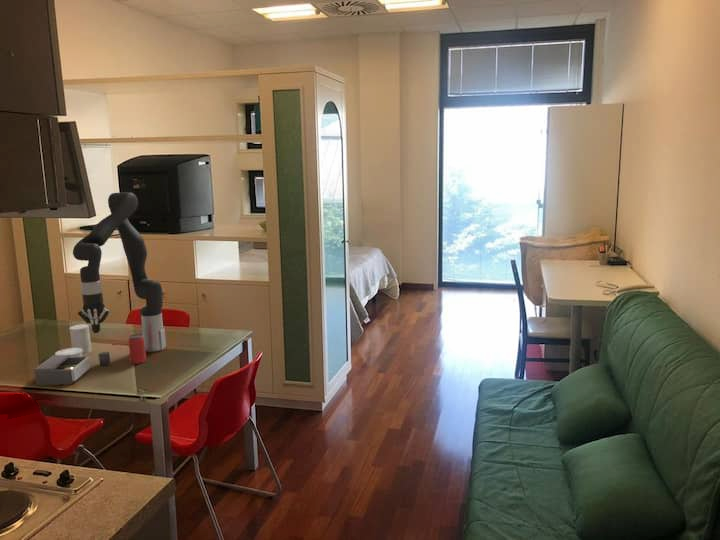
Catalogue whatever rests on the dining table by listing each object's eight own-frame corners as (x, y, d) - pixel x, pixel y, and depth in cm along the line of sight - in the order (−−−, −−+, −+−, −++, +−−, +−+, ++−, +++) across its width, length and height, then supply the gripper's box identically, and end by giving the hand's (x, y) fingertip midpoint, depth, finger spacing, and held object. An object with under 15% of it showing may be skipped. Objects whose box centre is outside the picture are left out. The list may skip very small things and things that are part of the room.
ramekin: (64, 358, 270) (62, 347, 269) (88, 358, 269) (87, 347, 268) (51, 367, 259) (49, 355, 258) (76, 367, 258) (74, 355, 257)
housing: (88, 369, 255) (86, 354, 253) (71, 384, 239) (69, 367, 238) (55, 370, 254) (53, 355, 253) (36, 385, 238) (34, 369, 237)
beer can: (131, 365, 259) (128, 339, 256) (129, 360, 264) (127, 335, 262) (147, 362, 262) (144, 336, 259) (145, 358, 267) (142, 332, 265)
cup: (84, 354, 274) (81, 329, 272) (68, 353, 276) (65, 329, 273) (95, 348, 282) (92, 324, 279) (80, 347, 283) (77, 323, 281)
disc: (78, 370, 248) (77, 365, 248) (68, 375, 243) (67, 370, 242) (65, 369, 250) (65, 364, 249) (55, 374, 244) (55, 369, 244)
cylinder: (112, 362, 263) (110, 351, 262) (108, 365, 259) (107, 355, 258) (102, 362, 263) (100, 352, 262) (98, 366, 258) (96, 355, 257)
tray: (90, 366, 254) (89, 356, 253) (75, 380, 239) (73, 370, 238) (57, 368, 254) (56, 357, 253) (39, 382, 238) (38, 371, 238)
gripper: (71, 294, 236) (76, 336, 239) (104, 293, 236) (109, 334, 240) (79, 290, 243) (84, 330, 247) (111, 289, 244) (116, 329, 247)
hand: (96, 332), depth 243 cm, fingers closed
